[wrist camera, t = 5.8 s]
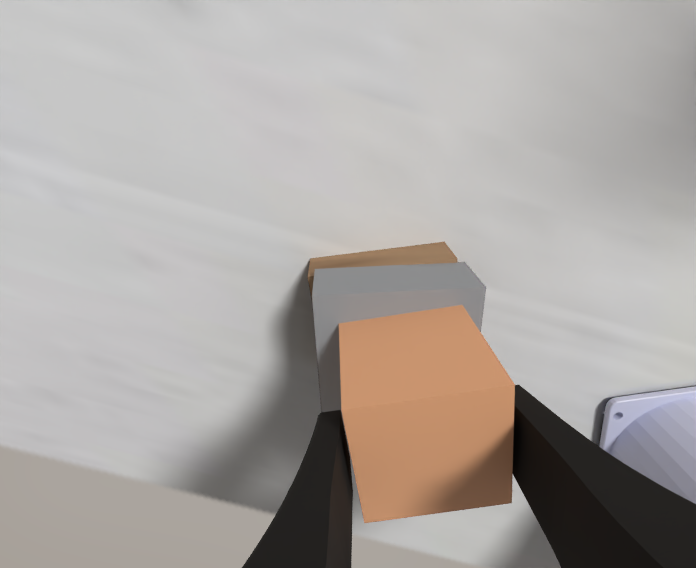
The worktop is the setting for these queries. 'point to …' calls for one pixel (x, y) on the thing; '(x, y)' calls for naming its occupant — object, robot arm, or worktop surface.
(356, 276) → the slate slab
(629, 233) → the worktop surface
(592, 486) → the robot arm
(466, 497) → the terracotta cube
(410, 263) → the walnut slab
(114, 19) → the worktop surface
